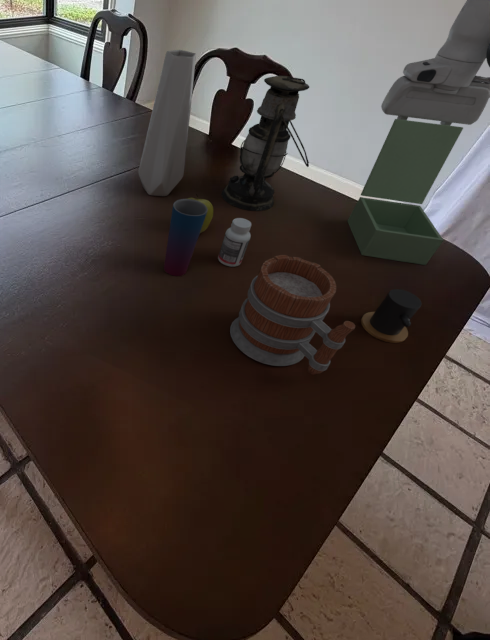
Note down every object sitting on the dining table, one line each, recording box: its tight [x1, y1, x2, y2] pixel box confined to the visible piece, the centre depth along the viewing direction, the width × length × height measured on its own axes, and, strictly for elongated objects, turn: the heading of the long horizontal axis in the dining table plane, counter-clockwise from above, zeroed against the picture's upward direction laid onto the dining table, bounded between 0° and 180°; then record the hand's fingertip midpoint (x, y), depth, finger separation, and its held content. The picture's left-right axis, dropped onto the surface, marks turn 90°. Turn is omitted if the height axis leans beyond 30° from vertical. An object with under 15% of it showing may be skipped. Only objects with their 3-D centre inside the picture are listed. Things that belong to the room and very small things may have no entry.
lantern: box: [220, 75, 310, 212], centre depth 112 cm, size 19×19×30 cm
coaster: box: [360, 311, 409, 344], centre depth 87 cm, size 8×8×1 cm
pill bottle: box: [217, 217, 252, 268], centre depth 97 cm, size 5×5×10 cm
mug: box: [229, 254, 356, 376], centre depth 76 cm, size 14×19×15 cm
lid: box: [360, 118, 464, 205], centre depth 108 cm, size 18×15×5 cm
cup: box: [163, 198, 208, 277], centre depth 92 cm, size 7×7×15 cm
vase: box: [137, 49, 197, 197], centre depth 111 cm, size 12×12×33 cm
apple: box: [187, 193, 214, 234], centre depth 106 cm, size 8×8×10 cm
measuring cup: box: [370, 288, 422, 335], centre depth 83 cm, size 8×6×7 cm
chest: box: [346, 196, 445, 266], centre depth 108 cm, size 17×15×7 cm
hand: (413, 138), depth 106 cm, fingers closed on lid, 6 cm apart
